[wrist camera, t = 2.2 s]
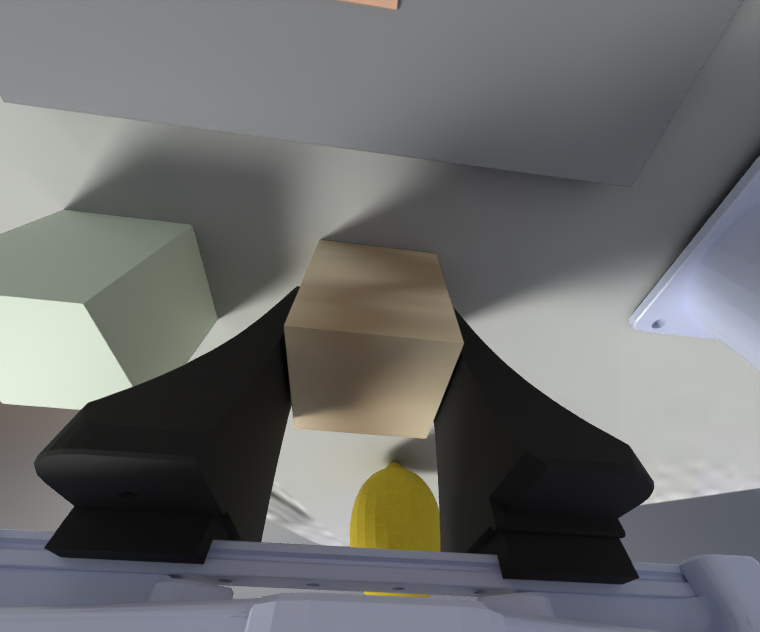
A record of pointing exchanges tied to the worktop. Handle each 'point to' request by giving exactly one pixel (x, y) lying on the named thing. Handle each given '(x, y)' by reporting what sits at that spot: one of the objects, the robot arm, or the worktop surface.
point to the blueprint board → (379, 73)
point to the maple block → (370, 341)
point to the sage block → (97, 306)
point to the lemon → (395, 515)
